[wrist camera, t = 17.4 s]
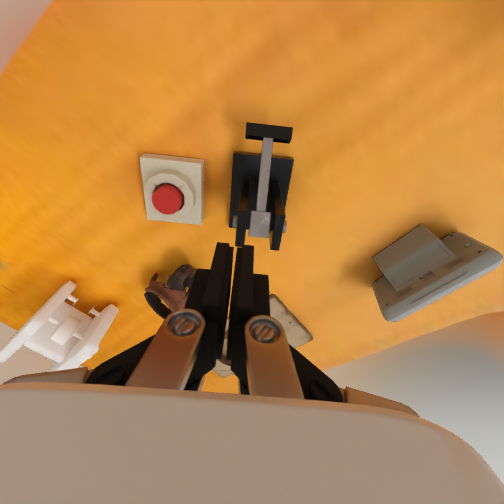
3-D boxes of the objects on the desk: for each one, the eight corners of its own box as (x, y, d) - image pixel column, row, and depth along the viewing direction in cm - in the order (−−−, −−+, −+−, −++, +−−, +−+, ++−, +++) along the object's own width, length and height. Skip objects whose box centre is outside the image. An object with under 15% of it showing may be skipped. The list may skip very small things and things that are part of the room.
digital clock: (370, 291, 48) (396, 339, 39) (350, 257, 44) (374, 302, 35) (466, 249, 43) (521, 293, 34) (453, 207, 39) (512, 244, 30)
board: (223, 376, 63) (221, 389, 61) (177, 343, 57) (173, 356, 54) (313, 336, 55) (316, 349, 52) (272, 292, 49) (273, 304, 46)
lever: (246, 128, 30) (246, 120, 27) (289, 133, 30) (293, 125, 28) (236, 233, 31) (235, 234, 29) (278, 237, 31) (281, 239, 29)
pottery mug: (208, 303, 51) (179, 334, 46) (172, 275, 53) (139, 302, 47) (219, 265, 42) (184, 299, 37) (175, 234, 44) (135, 262, 39)
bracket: (234, 151, 35) (224, 177, 25) (292, 157, 36) (306, 186, 26) (229, 224, 41) (220, 268, 31) (279, 229, 42) (287, 274, 32)
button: (154, 182, 34) (150, 187, 33) (182, 185, 34) (179, 190, 33) (157, 208, 36) (153, 213, 35) (183, 210, 36) (180, 216, 35)
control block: (145, 152, 36) (133, 160, 32) (204, 159, 36) (198, 167, 33) (152, 213, 40) (142, 225, 37) (204, 218, 41) (199, 230, 37)
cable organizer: (76, 271, 47) (28, 321, 37) (126, 304, 51) (95, 357, 41) (37, 310, 52) (-13, 362, 42) (86, 337, 56) (50, 390, 47)
